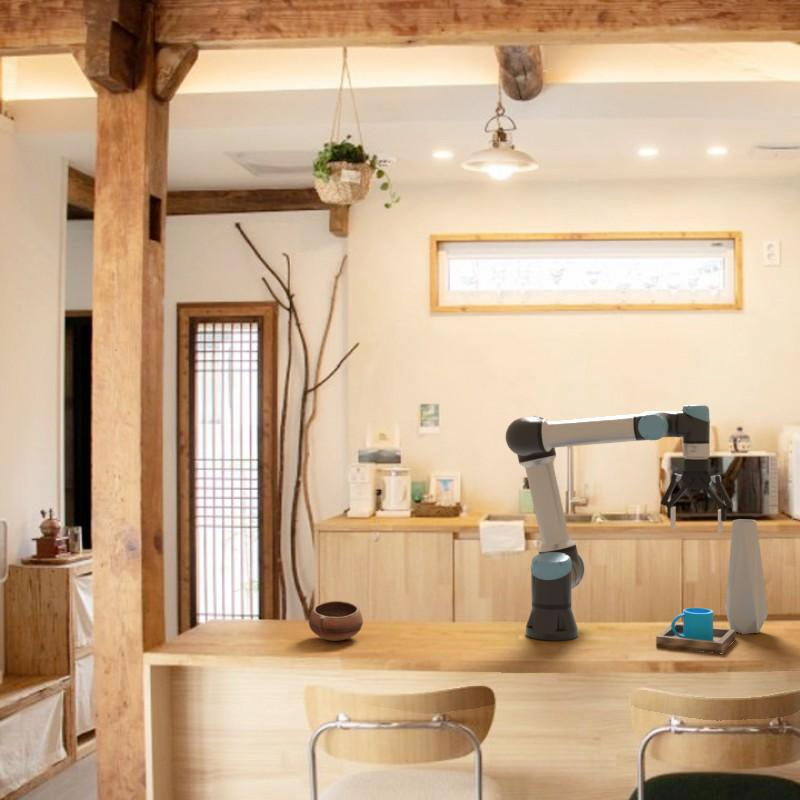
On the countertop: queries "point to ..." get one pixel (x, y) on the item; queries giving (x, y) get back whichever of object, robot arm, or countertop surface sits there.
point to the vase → (745, 580)
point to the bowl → (335, 620)
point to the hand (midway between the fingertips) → (696, 530)
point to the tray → (696, 640)
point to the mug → (695, 624)
